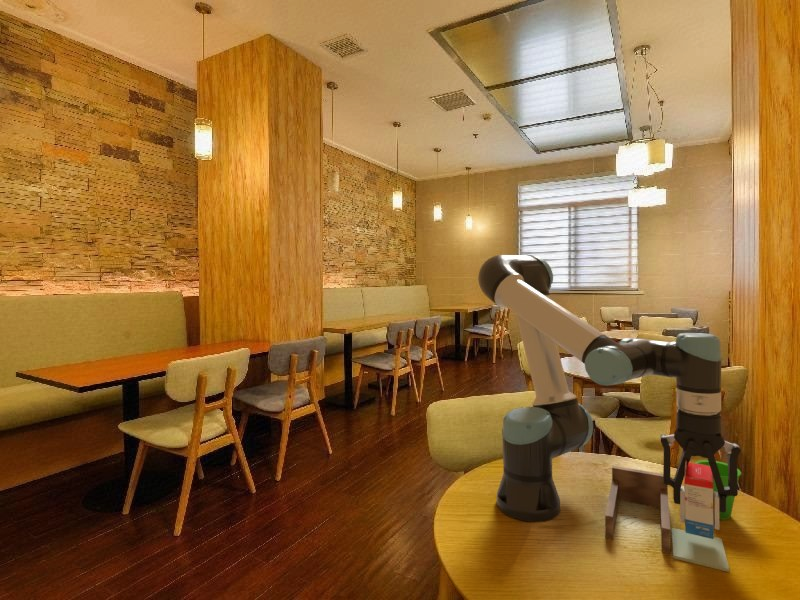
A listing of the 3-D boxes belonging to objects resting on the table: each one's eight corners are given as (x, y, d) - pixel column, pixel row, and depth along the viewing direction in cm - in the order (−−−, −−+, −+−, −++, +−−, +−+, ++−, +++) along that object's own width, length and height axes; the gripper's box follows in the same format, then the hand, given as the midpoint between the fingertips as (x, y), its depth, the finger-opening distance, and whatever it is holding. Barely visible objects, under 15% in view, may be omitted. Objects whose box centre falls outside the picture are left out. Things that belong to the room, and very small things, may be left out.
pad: (673, 558, 88) (673, 555, 88) (671, 530, 98) (671, 527, 98) (729, 572, 84) (729, 568, 84) (721, 541, 93) (721, 538, 93)
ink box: (714, 540, 87) (714, 466, 86) (684, 533, 89) (684, 462, 89) (712, 520, 94) (712, 451, 93) (684, 513, 96) (684, 447, 96)
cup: (743, 528, 98) (743, 479, 97) (694, 517, 102) (694, 471, 102) (738, 510, 105) (739, 464, 105) (693, 500, 110) (693, 457, 109)
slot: (605, 537, 96) (605, 501, 95) (612, 496, 113) (612, 465, 113) (670, 553, 90) (670, 515, 89) (667, 506, 107) (667, 474, 107)
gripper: (647, 409, 91) (648, 520, 92) (759, 421, 82) (758, 544, 83) (647, 400, 97) (648, 504, 98) (751, 410, 88) (751, 524, 89)
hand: (698, 522), depth 90 cm, fingers closed on ink box, 5 cm apart
